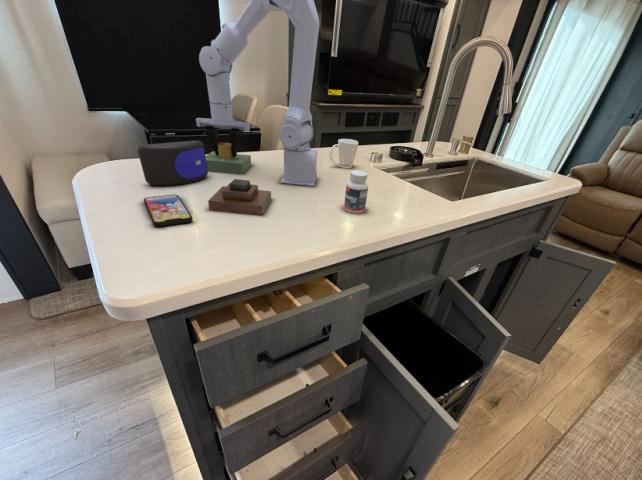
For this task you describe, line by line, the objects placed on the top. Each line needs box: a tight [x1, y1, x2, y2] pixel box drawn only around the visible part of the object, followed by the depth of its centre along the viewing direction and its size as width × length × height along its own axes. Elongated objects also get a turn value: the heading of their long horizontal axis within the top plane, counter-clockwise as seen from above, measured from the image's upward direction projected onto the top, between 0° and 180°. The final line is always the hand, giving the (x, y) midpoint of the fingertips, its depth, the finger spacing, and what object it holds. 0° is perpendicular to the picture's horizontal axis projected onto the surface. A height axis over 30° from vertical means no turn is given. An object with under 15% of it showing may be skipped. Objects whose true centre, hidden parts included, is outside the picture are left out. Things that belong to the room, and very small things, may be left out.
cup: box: [329, 138, 359, 169], centre depth 108 cm, size 7×10×8 cm
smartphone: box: [143, 194, 193, 227], centre depth 70 cm, size 7×1×15 cm
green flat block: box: [205, 151, 252, 175], centre depth 98 cm, size 12×10×3 cm
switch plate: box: [207, 183, 272, 216], centre depth 75 cm, size 12×10×4 cm
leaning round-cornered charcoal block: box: [137, 140, 209, 187], centre depth 82 cm, size 16×5×9 cm, turn 134°
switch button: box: [229, 178, 251, 192], centre depth 74 cm, size 4×4×2 cm
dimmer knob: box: [217, 142, 234, 159], centre depth 96 cm, size 4×4×4 cm
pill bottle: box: [343, 170, 369, 214], centre depth 78 cm, size 5×5×9 cm
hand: (226, 155), depth 97 cm, fingers closed on dimmer knob, 4 cm apart
